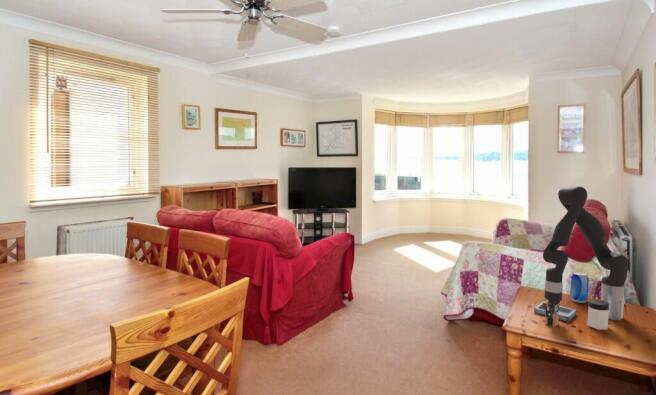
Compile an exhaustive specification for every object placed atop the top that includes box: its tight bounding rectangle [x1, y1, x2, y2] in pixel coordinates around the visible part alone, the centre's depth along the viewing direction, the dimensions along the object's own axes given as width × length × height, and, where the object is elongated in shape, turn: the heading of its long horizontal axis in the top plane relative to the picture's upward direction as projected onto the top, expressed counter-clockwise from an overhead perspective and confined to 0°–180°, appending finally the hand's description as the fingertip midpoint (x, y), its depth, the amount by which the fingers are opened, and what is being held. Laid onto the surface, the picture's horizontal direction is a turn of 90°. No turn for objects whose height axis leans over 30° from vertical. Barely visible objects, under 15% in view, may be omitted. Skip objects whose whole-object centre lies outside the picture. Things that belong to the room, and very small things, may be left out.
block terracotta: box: [544, 314, 560, 327], centre depth 186 cm, size 4×4×4 cm
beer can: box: [569, 271, 590, 304], centre depth 215 cm, size 8×8×16 cm
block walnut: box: [542, 300, 548, 310], centre depth 200 cm, size 4×4×4 cm
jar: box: [586, 298, 609, 331], centre depth 183 cm, size 9×8×12 cm
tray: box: [533, 301, 577, 323], centre depth 198 cm, size 16×13×2 cm
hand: (551, 323), depth 186 cm, fingers closed on block terracotta, 4 cm apart
